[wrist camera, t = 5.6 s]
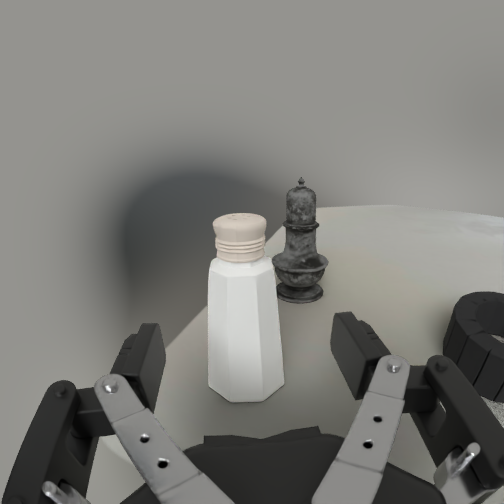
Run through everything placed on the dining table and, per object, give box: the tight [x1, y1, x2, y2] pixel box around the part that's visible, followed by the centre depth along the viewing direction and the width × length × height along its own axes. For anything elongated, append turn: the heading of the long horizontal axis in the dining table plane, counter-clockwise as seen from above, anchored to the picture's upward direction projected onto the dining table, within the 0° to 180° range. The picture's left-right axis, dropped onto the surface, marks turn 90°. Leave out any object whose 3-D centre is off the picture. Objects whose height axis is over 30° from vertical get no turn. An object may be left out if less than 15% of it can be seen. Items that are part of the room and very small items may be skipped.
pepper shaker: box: [208, 213, 284, 402], centre depth 17 cm, size 5×5×11 cm
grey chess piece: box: [272, 177, 328, 303], centre depth 29 cm, size 6×6×12 cm
